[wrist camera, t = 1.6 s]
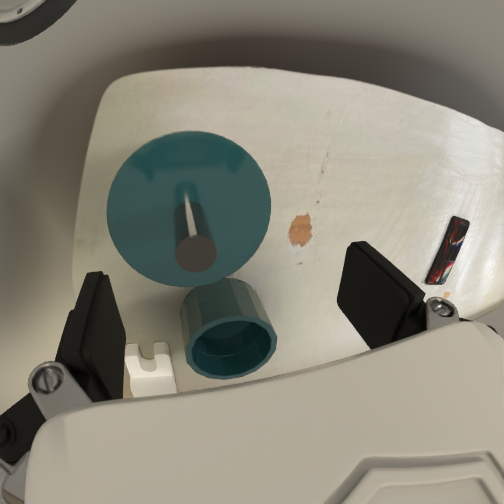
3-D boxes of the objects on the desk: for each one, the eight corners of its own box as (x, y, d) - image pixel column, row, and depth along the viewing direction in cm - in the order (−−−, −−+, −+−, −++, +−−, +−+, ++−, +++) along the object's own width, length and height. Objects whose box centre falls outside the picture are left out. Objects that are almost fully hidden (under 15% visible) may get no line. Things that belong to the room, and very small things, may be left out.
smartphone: (470, 221, 48) (443, 284, 54) (468, 220, 48) (442, 283, 55) (454, 216, 46) (425, 284, 52) (452, 214, 46) (423, 283, 52)
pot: (171, 333, 42) (175, 374, 35) (195, 269, 38) (202, 307, 31) (241, 344, 47) (254, 382, 40) (272, 287, 43) (292, 323, 36)
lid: (93, 262, 22) (75, 313, 16) (138, 107, 17) (122, 107, 12) (232, 297, 27) (250, 348, 21) (295, 167, 22) (336, 191, 17)
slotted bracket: (124, 343, 41) (121, 383, 34) (167, 341, 43) (170, 381, 36) (140, 392, 47) (141, 427, 40) (176, 390, 49) (181, 425, 42)
